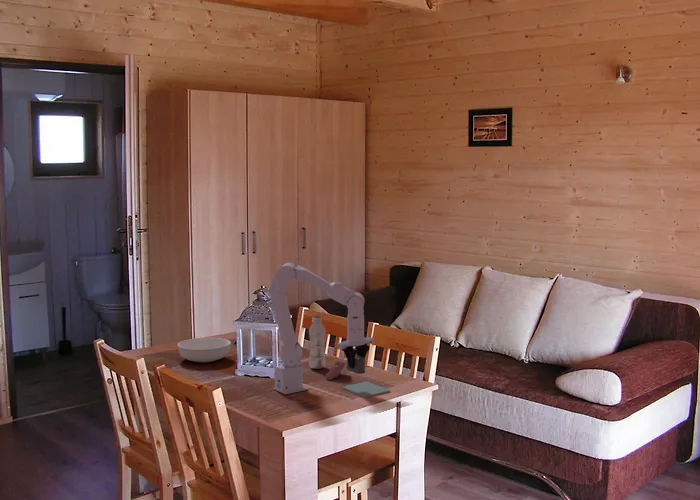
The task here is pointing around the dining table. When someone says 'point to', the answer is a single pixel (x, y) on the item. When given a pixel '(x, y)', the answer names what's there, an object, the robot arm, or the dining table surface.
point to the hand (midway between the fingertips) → (356, 366)
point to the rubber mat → (366, 389)
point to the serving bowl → (204, 349)
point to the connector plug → (357, 365)
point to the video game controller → (335, 370)
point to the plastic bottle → (317, 343)
